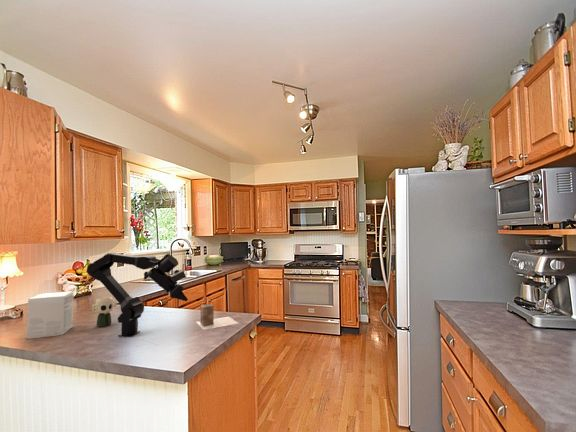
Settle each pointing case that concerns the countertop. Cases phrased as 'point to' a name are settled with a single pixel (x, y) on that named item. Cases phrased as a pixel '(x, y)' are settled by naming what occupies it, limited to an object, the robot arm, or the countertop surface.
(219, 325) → the cream board
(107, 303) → the big eyed figurine
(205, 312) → the walnut block
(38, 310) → the supplement box
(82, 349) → the countertop surface
